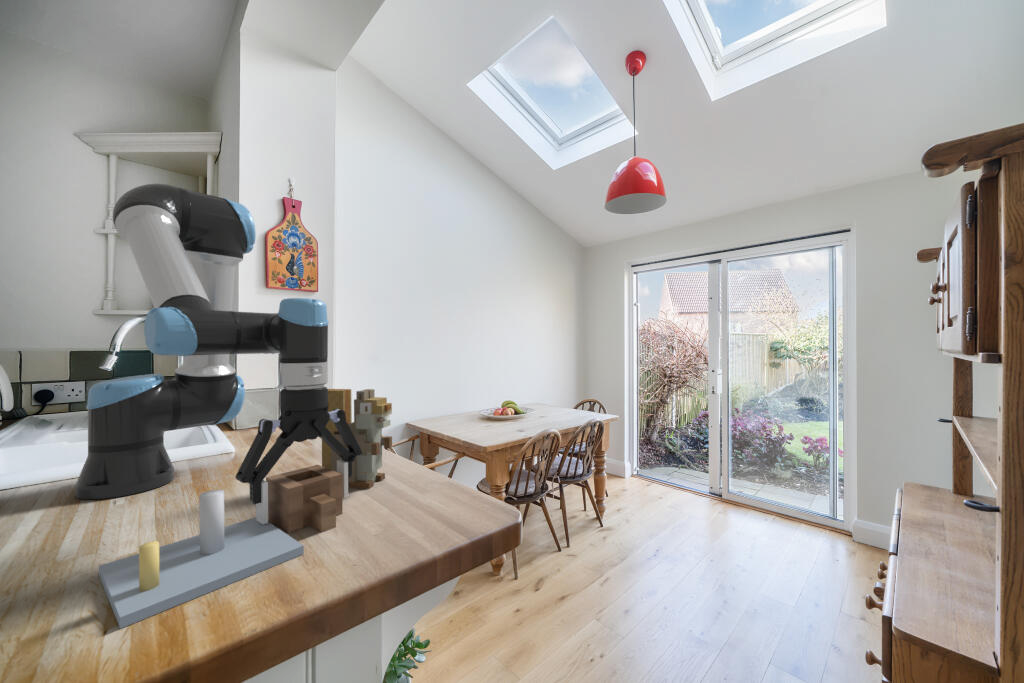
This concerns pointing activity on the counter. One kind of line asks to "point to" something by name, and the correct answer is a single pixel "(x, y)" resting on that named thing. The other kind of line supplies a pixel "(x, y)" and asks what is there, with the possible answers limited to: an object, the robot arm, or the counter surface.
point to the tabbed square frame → (305, 498)
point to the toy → (360, 434)
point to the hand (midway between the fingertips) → (305, 508)
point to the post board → (193, 563)
